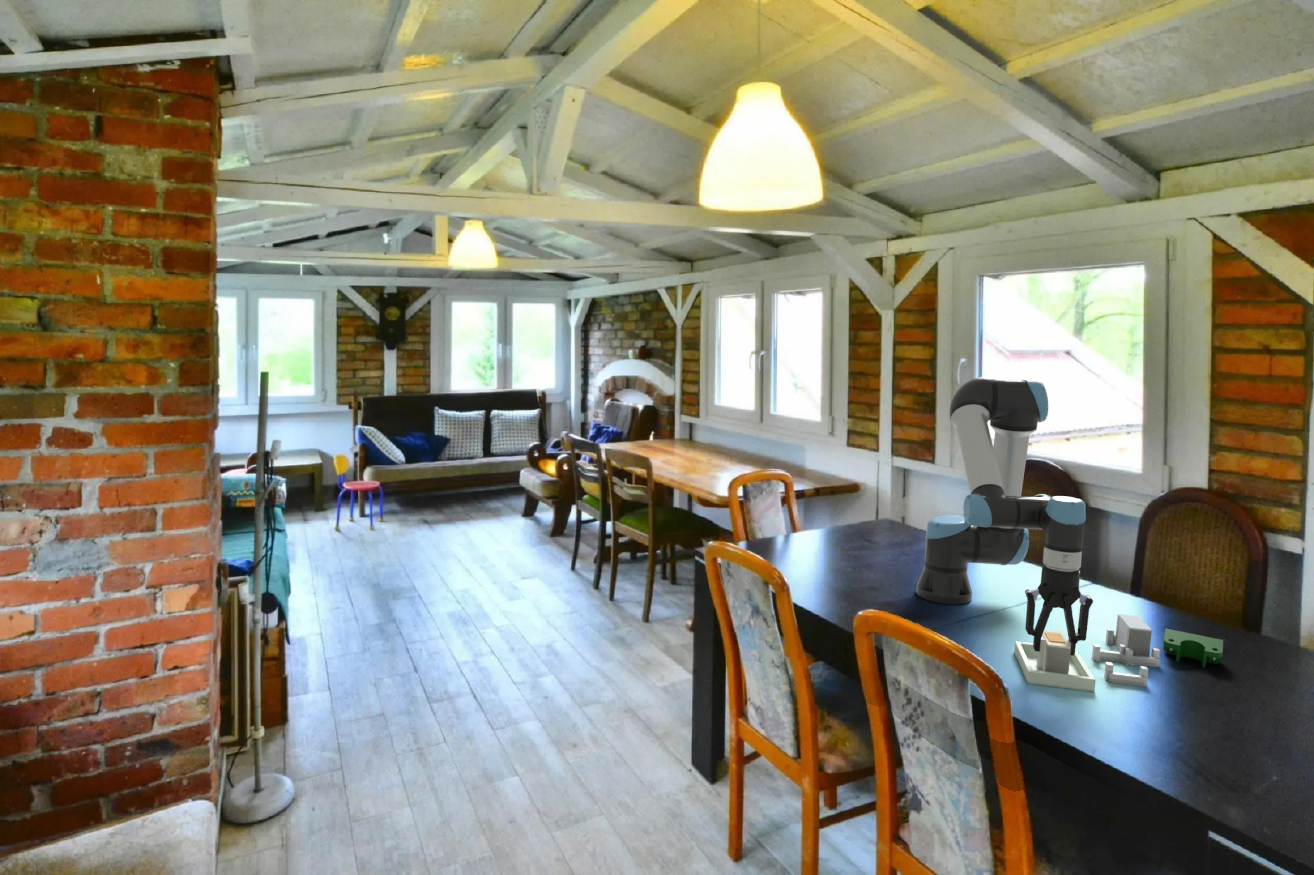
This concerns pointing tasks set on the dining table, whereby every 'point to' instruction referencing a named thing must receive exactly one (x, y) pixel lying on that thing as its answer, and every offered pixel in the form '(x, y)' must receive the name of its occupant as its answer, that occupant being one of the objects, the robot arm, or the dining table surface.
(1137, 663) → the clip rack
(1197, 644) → the clamp
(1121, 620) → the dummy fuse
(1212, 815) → the dining table surface
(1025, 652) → the tray
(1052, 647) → the block
